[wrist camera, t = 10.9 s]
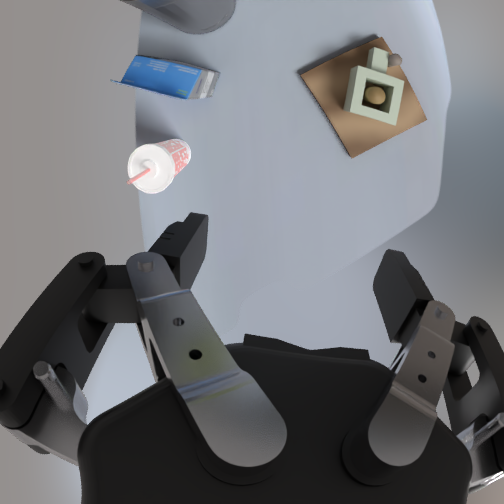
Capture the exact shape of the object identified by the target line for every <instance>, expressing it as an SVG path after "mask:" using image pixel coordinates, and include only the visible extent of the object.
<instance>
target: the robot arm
mask: <svg viewBox="0 0 504 504" xmlns="http://www.w3.org/2000/svg"><path fill="white" fill-rule="evenodd" d="M120 1H123V2H125V3H127V4H130V5H132V6H134V7H136V8H139V9H141V10H143V11H145V12H147V13H149V14H151V15H153V16H155V17H157V18H159V19H161V20H163V21H165V22H167V23H169V24H170V25H172V26H174V27H176V28H178V29H179V30H181V31H184V32H186V33H190V34H204V33H209V32H212V31H214V30H216V29H218V28H220V27H221V26H223V25H224V24H225V23H226V22H227V21H228V20H229V19H230V18H231V16H232V14H233V13H234V10H235V5H236V0H120ZM207 233H208V215H205V214H198V213H192V212H191V213H190V214H189V215H188V216H187V218H186V219H185V220H184V222H178V221H177V222H175V223H173V224H171V225H169V226H168V227H167V228H166V230H165V231H164V233H162V234H161V236H160V238H158V239H157V241H156V242H155V243H154V244H153V246H152V247H151V248H150V249H149V251H148V252H141V253H137V254H135V255H133V256H131V257H130V258H129V259H128V260H127V262H126V265H106V264H105V259H104V257H103V256H102V255H101V254H99V253H96V252H86V253H82V254H79V255H77V256H75V257H74V258H73V259H71V260H70V261H69V263H68V264H67V265H66V266H65V267H64V268H63V269H62V270H61V272H60V273H59V274H58V275H57V276H56V277H55V278H54V279H53V281H52V282H51V283H50V284H49V285H48V286H47V288H46V289H45V290H44V291H43V292H42V294H41V295H40V296H39V297H38V299H37V300H36V301H35V302H34V304H33V305H32V306H31V307H30V309H29V310H28V311H27V312H26V314H25V315H24V316H23V318H22V319H21V321H20V322H19V323H18V325H17V326H16V327H15V329H14V330H13V331H12V333H11V334H10V335H9V337H8V338H7V340H6V341H5V343H4V344H3V346H2V347H1V349H0V424H1V425H2V426H3V427H5V428H6V429H7V430H8V431H9V432H10V433H11V434H13V435H14V436H15V437H16V438H17V439H19V440H20V441H21V442H23V443H25V444H27V445H28V446H29V447H30V448H32V449H33V450H34V451H36V452H38V453H40V454H49V453H52V454H54V455H56V456H58V457H60V458H62V459H64V460H66V461H68V462H70V463H72V464H74V465H76V466H79V470H80V476H81V485H82V500H81V504H466V502H467V496H468V493H474V492H476V491H478V490H480V489H482V488H484V487H486V486H488V485H490V484H491V483H493V482H495V481H497V480H499V479H500V478H502V477H504V352H503V350H502V348H501V346H500V344H499V342H498V340H497V338H496V336H495V334H494V332H493V331H492V329H491V327H490V326H489V324H488V323H487V322H486V321H484V320H483V319H481V318H479V317H476V316H473V317H471V318H470V320H469V322H468V323H467V324H466V325H465V324H462V323H460V322H457V321H455V315H454V313H453V311H452V310H451V309H450V308H449V307H448V306H447V305H445V304H444V303H442V302H440V301H435V300H434V298H433V296H432V295H431V293H430V291H429V289H428V288H427V286H426V285H425V282H424V281H423V280H422V277H421V276H420V274H419V272H418V271H417V270H416V269H415V268H414V267H413V266H412V265H411V264H410V262H409V261H408V259H407V257H406V256H405V254H404V253H403V252H400V251H396V250H391V249H388V250H386V252H385V254H384V256H383V259H382V261H381V264H380V266H379V268H378V271H377V273H376V275H375V278H374V282H373V291H374V294H375V296H376V299H377V302H378V305H379V308H380V311H381V314H382V317H383V320H384V323H385V326H386V329H387V333H388V336H389V339H390V342H391V343H402V346H401V347H400V349H399V350H398V352H397V354H396V355H395V357H394V359H393V361H392V362H391V364H390V366H389V367H388V368H387V367H386V366H384V365H382V364H380V363H378V362H376V361H374V360H371V359H370V357H369V353H368V350H365V349H354V348H344V347H338V348H329V349H318V350H308V349H305V348H302V347H299V346H296V345H293V344H290V343H287V342H284V341H282V340H279V339H274V338H268V337H261V336H256V335H250V334H245V336H244V342H243V343H234V344H227V345H224V344H223V342H222V341H221V339H220V338H219V336H218V335H217V333H216V331H215V330H214V328H213V327H212V325H211V323H210V322H209V320H208V319H207V317H206V315H205V314H204V312H203V310H202V309H201V307H200V305H199V304H198V302H197V300H196V299H195V297H194V295H193V294H192V292H191V291H190V289H191V287H192V285H193V282H194V280H195V278H196V276H197V274H198V272H199V269H200V267H201V265H202V263H203V261H204V258H205V254H206V247H207ZM115 323H136V327H137V330H138V332H139V336H140V338H141V341H142V344H143V347H144V349H145V352H146V355H147V358H148V360H149V363H150V366H151V370H152V373H153V376H154V379H155V382H156V383H155V384H153V385H152V386H150V387H148V388H147V389H145V390H143V391H142V392H140V393H138V394H136V395H135V396H133V397H131V398H129V399H127V400H125V401H124V402H122V403H120V404H118V405H116V406H115V407H113V408H111V409H109V410H107V411H105V412H104V413H102V414H100V415H99V416H97V417H96V418H94V419H93V420H92V421H91V422H90V423H89V424H88V425H87V423H86V415H87V410H88V402H87V399H86V397H85V395H84V394H83V392H82V389H83V387H84V385H85V383H86V381H87V379H88V376H89V374H90V372H91V370H92V368H93V366H94V364H95V362H96V360H97V358H98V356H99V354H100V352H101V350H102V348H103V346H104V344H105V342H106V340H107V338H108V336H109V334H110V332H111V330H112V329H113V327H114V325H115ZM474 361H476V363H477V366H478V369H479V372H480V377H479V380H478V382H477V384H476V385H475V386H474V387H473V388H472V386H471V383H470V380H469V377H468V374H467V372H466V370H467V369H468V368H469V367H470V365H471V364H472V363H473V362H474ZM442 391H443V394H444V398H445V402H446V406H447V411H448V415H449V420H450V424H451V429H452V431H451V430H450V429H449V428H448V427H447V426H446V425H445V424H444V423H443V422H442V421H441V420H440V419H439V418H438V417H437V412H436V407H437V404H438V401H439V398H440V396H441V393H442Z"/></svg>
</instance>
